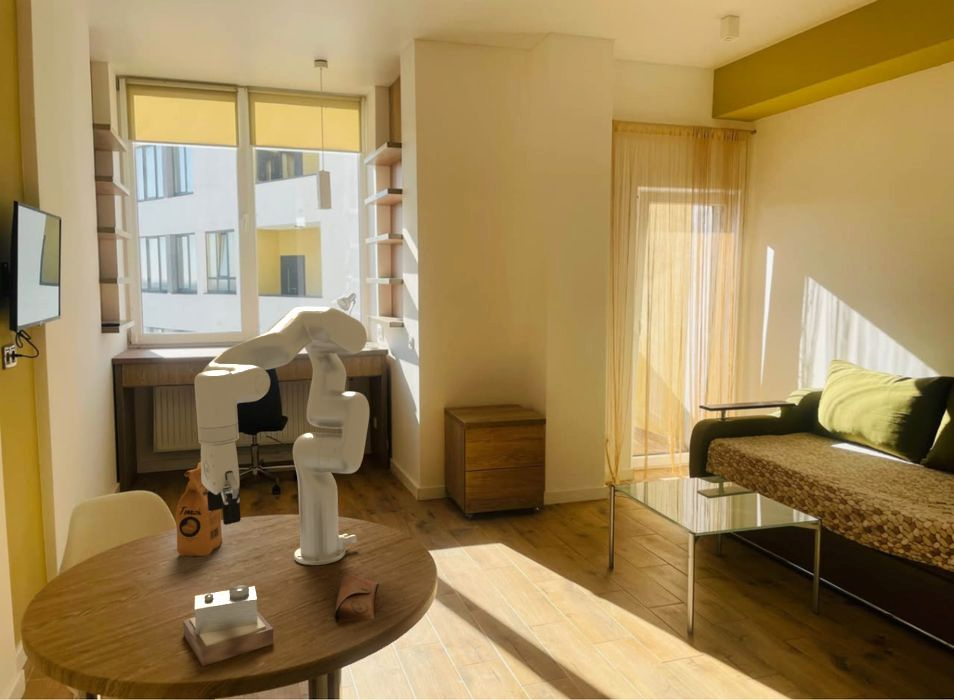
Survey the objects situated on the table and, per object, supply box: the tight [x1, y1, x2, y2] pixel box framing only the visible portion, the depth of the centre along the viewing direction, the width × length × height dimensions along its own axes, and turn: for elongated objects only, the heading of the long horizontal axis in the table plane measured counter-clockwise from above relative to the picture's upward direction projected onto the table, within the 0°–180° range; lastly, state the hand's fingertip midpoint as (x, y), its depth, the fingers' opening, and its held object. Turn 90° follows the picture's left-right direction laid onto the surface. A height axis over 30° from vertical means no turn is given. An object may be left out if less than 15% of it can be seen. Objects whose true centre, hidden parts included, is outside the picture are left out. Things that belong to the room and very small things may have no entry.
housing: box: [194, 584, 258, 635], centre depth 133 cm, size 6×11×6 cm, turn 111°
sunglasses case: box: [334, 571, 379, 623], centre depth 149 cm, size 18×7×7 cm
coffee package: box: [175, 461, 223, 557], centre depth 179 cm, size 10×12×22 cm
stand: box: [182, 610, 275, 667], centre depth 133 cm, size 13×14×3 cm
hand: (224, 515), depth 138 cm, fingers open, 9 cm apart
